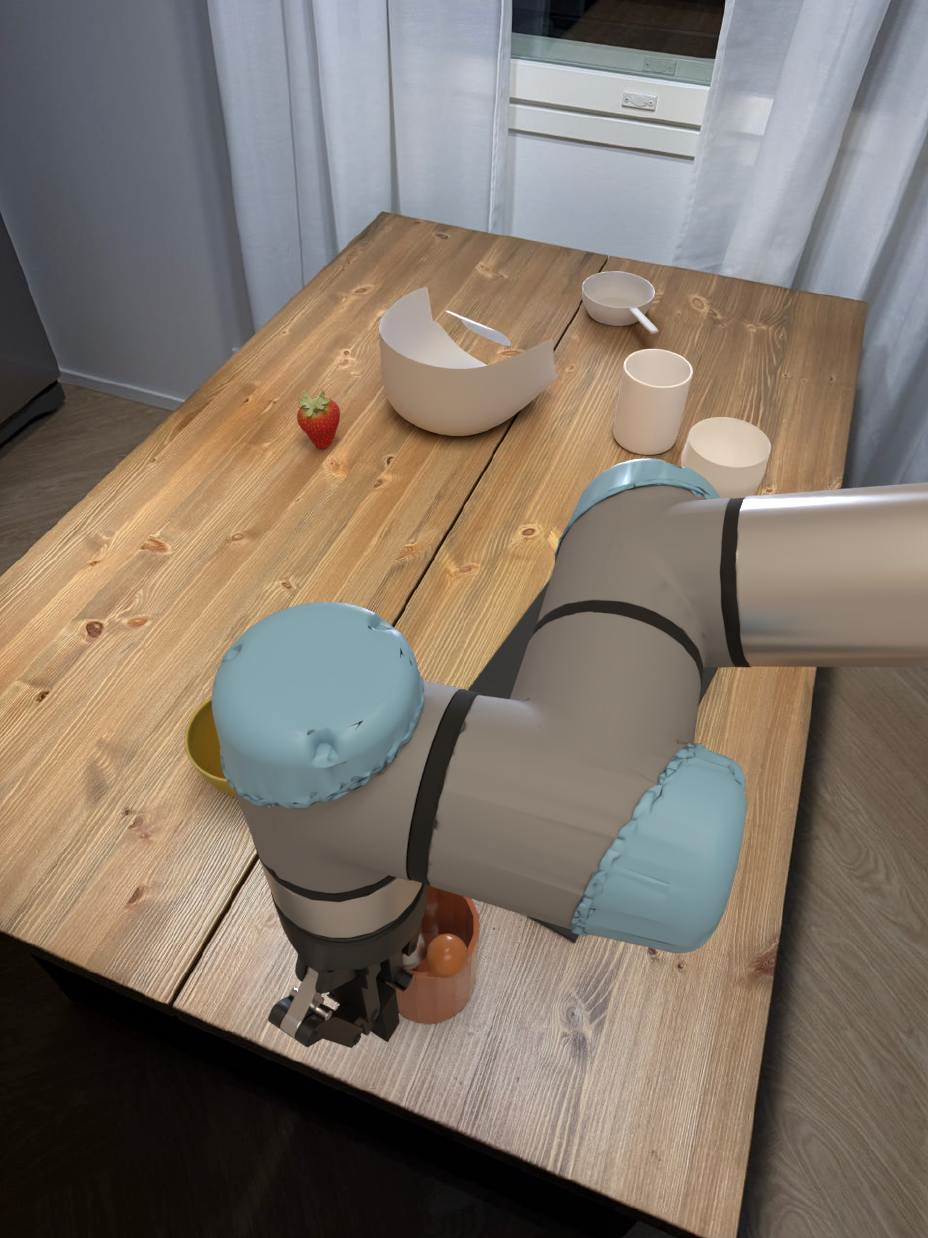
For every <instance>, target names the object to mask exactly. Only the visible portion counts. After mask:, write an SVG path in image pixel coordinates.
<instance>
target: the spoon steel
mask: <svg viewBox="0 0 928 1238" xmlns="http://www.w3.org/2000/svg"><path fill="white" fill-rule="evenodd" d="M426 951H427V941H426V938H425V936H424V934H423V933H422V932H421V931H420V934H419V939H418V943H417V948H416V950H415V952H414V953H412V954H411V955H410V956H409V957H408V956H406V955H405V954H403V956H402V960H403V968H404V969H406V970H409V969H413V968H415V967H417V966H418V965H419V964H420V963H421V962H422V961H423V960H424V958H425V956H426Z"/></svg>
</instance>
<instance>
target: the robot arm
mask: <svg viewBox="0 0 928 1238" xmlns="http://www.w3.org/2000/svg"><path fill="white" fill-rule="evenodd" d="M549 580H550V582H549V585H548V588H547V591H546V595H545V598H544V601H543V605H542V608H541V611H540V614H539V618H538V621H537V624H536V626H535V629H534V631H533V633H532V636H531V639H530V641H529V643H528V646H527V649H526V652H525V655H524V658H523V661H522V664H521V667H520V670H519V673H518V676H517V679H516V682H515V685H514V688H513V691H512V694H511V697H510V699H504V698H496V697H489V696H483V694H482V693H480V694H479V693H477V692H473V691H469V690H468V689H466V688H465V689H464V688H460V687H456V686H452V685H448V684H444V683H439V682H435V681H431V680H428V679H424V678H423V676H421V671H420V670H419V667H418V662H417V659H416V655H415V653H414V651H413V648H412V646H411V644H410V642H409V641H408V640H407V639H406V637H405V636H404V634H403V633H401V632H400V631H399V630H397V629H396V628H395V627H393V625H391V624H390V623H389V622H387V621H386V620H385V619H383V618H381V617H380V616H379V615H378V614H377V613H376V612H374V611H372V610H370V609H367V608H366V607H362V606H360V605H359V606H358V605H355V604H352V603H346V602H339V601H315V602H308V603H302V604H296V605H293V606H289V607H286V608H283V609H281V610H278V611H276V612H273V613H271V614H269V615H267V616H266V617H263V618H262V619H259V621H257V622H256V623H254V624H253V625H252V626H250V627H249V628H247V629H246V630H245V631H244V632H243V633H242V634H241V635H240V636H239V637H238V638H237V639H236V641H234V643H233V644H232V646H231V647H230V648H229V649H228V650H227V652H225V654H223V656H222V659H221V661H220V664H219V665H218V668H217V670H216V672H215V675H214V679H213V682H212V683H213V684H212V691H211V697H212V712H213V717H214V721H215V726H216V730H217V734H218V738H219V743H220V747H221V749H220V756H221V766H222V771H223V773H224V776H225V778H226V780H227V782H228V783H229V782H230V786H231V788H232V789H233V790H234V792H235V794H236V797H235V798H236V799H237V801H238V804H239V806H240V808H241V812H242V814H243V817H244V820H245V822H246V825H247V828H248V830H249V832H250V835H251V838H252V843H253V845H254V848H255V851H256V854H257V857H258V860H259V862H260V865H261V868H262V871H263V874H264V876H265V879H266V882H267V885H268V887H269V890H270V894H271V899H272V902H273V905H274V908H275V911H276V913H277V916H278V919H279V922H280V924H281V925H280V926H281V927H282V930H283V932H284V934H285V936H286V938H287V940H288V941H289V943H290V945H291V946H292V947H293V949H294V951H295V952H296V953H297V958H296V963H295V966H294V971H295V972H294V973H295V976H296V978H297V980H298V981H299V982H301V983H300V985H299V986H298V987H296V986H294V987H292V988H291V989H290V991H289V993H288V995H287V996H285V997H283V998H280V999H279V1000H278V1001H277V1002H276V1003H275V1004H274V1005H272V1007H271V1009H270V1011H269V1015H268V1018H267V1022H268V1023H270V1024H272V1025H273V1026H274V1027H275V1028H278V1029H279V1030H280V1031H282V1032H283V1033H285V1034H287V1036H289V1037H291V1038H292V1039H293V1040H294V1041H297V1042H298V1043H299V1044H301V1045H302V1046H304V1047H305V1048H310V1047H312V1046H313V1045H315V1044H317V1043H318V1042H319V1041H321V1040H325V1041H328V1042H331V1043H334V1044H338V1045H340V1046H343V1047H346V1048H350V1049H353V1048H354V1047H355V1046H356V1045H358V1043H359V1042H360V1040H361V1038H362V1034H363V1035H364V1036H366V1037H368V1036H369V1035H370V1033H372V1034H373V1035H374V1036H377V1037H378V1038H380V1039H381V1040H382V1041H384V1042H385V1043H389V1041H390V1040H391V1038H392V1037H393V1035H394V1033H395V1032H396V1030H397V1028H398V1027H399V1026H400V1024H401V1020H400V1014H399V1011H398V1004H397V996H396V989H397V988H398V989H399V990H401V991H402V992H405V991H406V989H407V988H408V986H409V985H410V983H411V981H412V979H413V975H414V974H412V973H410V972H409V971H407V970H406V969H404V968H403V960H402V956H403V954H405V955H406V956H408V957H409V956H410V955H411V954H412V953H414V952H415V950H416V948H417V943H418V939H419V934H420V928H421V922H422V919H423V916H424V913H425V909H426V904H427V889H428V885H430V886H431V887H435V888H438V889H441V890H444V891H448V892H451V893H454V894H457V895H461V896H464V897H467V898H470V899H472V900H474V901H477V902H481V903H484V904H487V905H490V906H493V907H496V908H499V909H503V910H506V911H510V912H513V913H516V914H519V915H523V916H526V917H528V916H529V917H532V918H535V919H538V920H542V921H545V922H548V923H551V924H555V925H558V926H561V927H564V928H568V929H571V930H572V933H575V934H578V935H579V936H582V937H587V936H594V937H599V938H604V939H609V940H612V941H617V942H621V943H627V944H631V945H636V946H639V947H644V948H649V949H654V950H658V951H662V952H667V953H670V954H671V953H672V954H687V953H692V952H694V951H697V950H698V949H701V948H702V947H703V946H704V945H705V944H706V943H707V942H708V941H709V940H710V939H711V938H712V937H713V935H714V933H715V932H716V930H717V929H718V927H719V925H720V923H721V921H722V919H723V916H724V913H725V911H726V908H727V906H728V902H729V900H730V895H731V893H732V889H733V885H734V882H735V878H736V874H737V871H738V866H739V860H740V855H741V851H742V844H743V838H744V833H745V827H746V826H745V825H746V818H747V817H746V815H747V806H748V804H747V803H748V802H747V795H746V794H745V792H746V787H747V785H746V783H747V779H746V776H745V773H744V770H743V769H742V767H741V765H740V764H739V763H738V762H737V761H736V760H734V759H733V758H732V757H729V756H727V755H725V754H723V753H718V752H715V751H712V750H709V749H708V748H706V746H705V745H703V744H702V743H700V742H699V743H695V738H696V727H697V718H698V709H699V706H698V703H699V697H700V690H701V687H702V679H703V669H704V668H707V667H718V669H719V668H720V669H723V668H724V669H725V668H752V667H755V668H756V667H759V668H760V667H762V668H763V667H764V668H765V667H767V668H768V667H769V668H770V667H771V668H775V667H777V668H780V667H781V668H782V667H783V668H928V481H925V482H913V483H900V484H888V485H875V486H874V485H873V486H863V487H849V488H834V489H823V490H812V491H811V490H809V491H797V492H785V493H784V492H783V493H773V494H758V495H753V496H747V497H746V498H734V499H733V498H720V496H719V495H718V493H717V491H716V490H715V489H714V487H713V486H712V485H711V484H710V483H709V482H708V481H707V480H706V479H705V478H704V477H703V476H701V475H700V474H699V473H697V472H696V471H694V470H692V469H690V468H688V467H686V466H685V467H681V466H679V465H676V464H673V463H669V462H666V461H665V460H663V459H661V458H651V457H650V458H635V459H631V460H626V461H623V462H619V463H617V464H615V465H613V466H610V467H609V468H607V469H605V470H603V471H602V472H600V473H599V474H598V475H597V476H595V477H594V478H593V479H592V480H591V481H589V483H588V484H587V486H586V487H585V488H584V490H583V491H582V492H581V494H580V496H579V499H578V501H577V503H576V505H575V508H574V510H573V512H572V514H571V517H570V518H569V521H568V523H567V525H566V527H564V529H563V531H562V534H561V536H560V537H559V538H558V541H557V547H556V549H555V552H554V565H553V568H552V572H551V576H550V578H549ZM529 917H528V918H529ZM322 994H326V997H328V998H329V999H330V1000H332V1001H334V1002H335V1003H337V1004H338V1006H337V1007H336V1008H335V1009H334V1008H332V1007H330V1006H329V1005H326V1004H324V1002H325V997H323V995H322Z"/></svg>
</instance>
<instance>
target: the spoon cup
mask: <svg viewBox="0 0 928 1238" xmlns="http://www.w3.org/2000/svg"><path fill="white" fill-rule="evenodd" d="M474 903H475V902H474V901H473V899H470V898H467V897H464V896H461V895H457V894H454V893H451V892H448V891H444V890H441V889H438V888H435V887H431V886H430V885H428V889H427V904H426V909H425V913H424V916H423V919H422V922H421V928H420V931H421V932H422V933H423V934H424V936H425V938H426V941H427V948H428V945H429V944H430V942H431V941H432V940H433V939H434V938H435V937H437V936H439V935H441V934H453V935H456V936H458V937H459V938H460V939H461V940H462V941H463V942H464V943H465V945H466V947H467V951H468V961H467V964H466V967H465V968H464V970H463V971H462V972H461V973H460V974H459V975H458V976H456V977H453V978H448V979H446V978H441V977H438V976H436V975H435V974H434V973H432V971H431V970H430V969H429V967H428V965H427V961H426V956H425V958H424V960H423V961H422V962H421V963H420V964H419V965H418V966H417V967H415V968H413V969H409V970H407V971H409V972H410V973H412V974H414V975H413V979H412V981H411V983H410V985H409V986H408V988H407V989H406V991H405V992H402V991H401V990H399V989H398V988H397V989H396V996H397V1004H398V1011H399V1016H402V1017H403V1018H404V1019H407V1020H408V1021H411V1022H412V1023H417V1024H420V1025H436V1024H437V1025H438V1024H441V1023H444V1022H447V1021H449V1020H450V1019H453V1018H454V1017H456V1016H457V1015H458V1014H460V1013H461V1012H462V1011H463V1010H464V1009H465V1007H466V1006H467V1005H468V1003H469V1001H470V1000H471V999H472V995H473V993H474V989H475V986H476V983H477V974H478V973H477V971H478V957H479V943H480V914H479V912H478V910H477V908H476V905H475V904H474Z"/></svg>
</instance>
